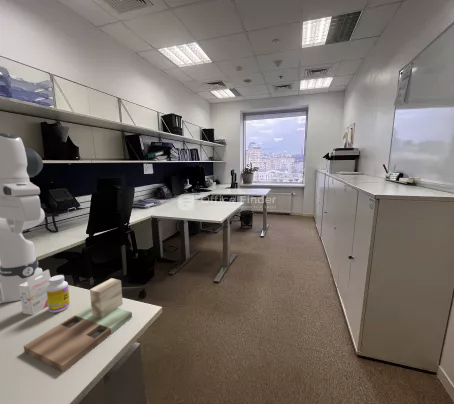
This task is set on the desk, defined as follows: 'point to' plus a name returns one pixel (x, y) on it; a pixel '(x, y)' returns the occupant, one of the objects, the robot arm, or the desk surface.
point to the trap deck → (75, 337)
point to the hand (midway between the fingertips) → (16, 232)
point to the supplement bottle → (57, 294)
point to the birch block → (106, 297)
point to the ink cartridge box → (34, 293)
